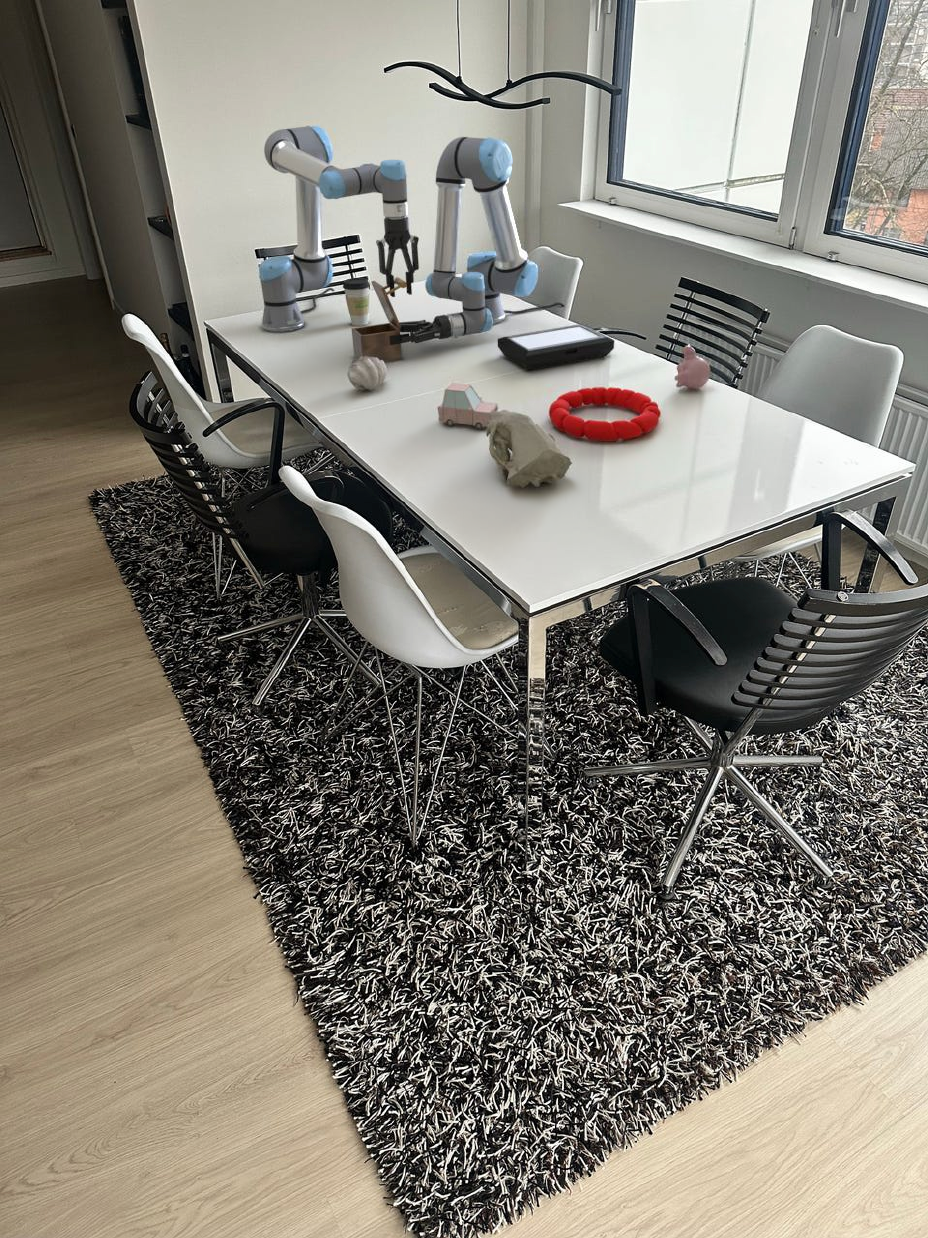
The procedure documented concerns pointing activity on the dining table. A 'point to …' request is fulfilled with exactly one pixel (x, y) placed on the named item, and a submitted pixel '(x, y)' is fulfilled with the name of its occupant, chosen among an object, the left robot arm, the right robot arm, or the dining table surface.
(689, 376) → the figurine
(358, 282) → the coffee cup
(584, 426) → the decorative ring
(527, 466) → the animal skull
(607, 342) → the electronic device
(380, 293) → the lid
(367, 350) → the chest
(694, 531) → the dining table surface
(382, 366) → the seashell
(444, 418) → the toy car
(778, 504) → the dining table surface
